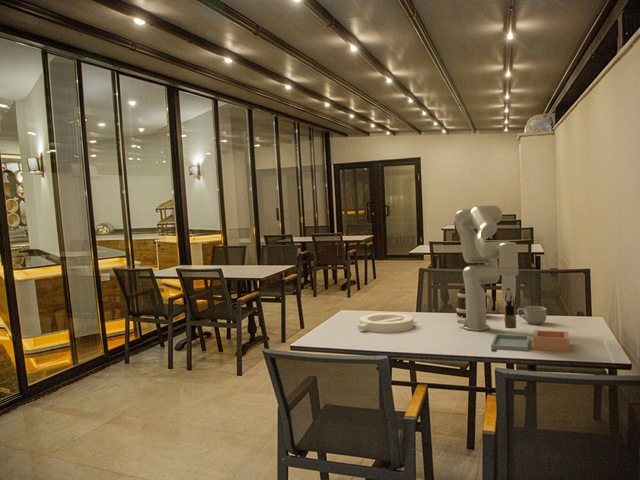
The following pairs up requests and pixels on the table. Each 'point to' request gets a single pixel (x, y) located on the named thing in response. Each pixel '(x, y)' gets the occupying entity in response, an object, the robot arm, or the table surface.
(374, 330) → the ring with crossbar
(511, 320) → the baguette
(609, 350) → the table surface
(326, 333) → the table surface
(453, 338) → the table surface
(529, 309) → the teacup
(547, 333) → the open box
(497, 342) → the tray
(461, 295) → the mug
